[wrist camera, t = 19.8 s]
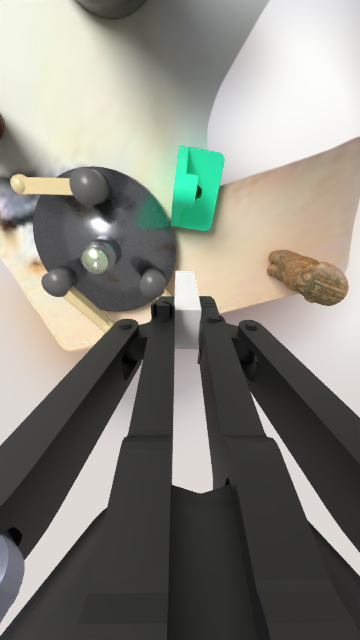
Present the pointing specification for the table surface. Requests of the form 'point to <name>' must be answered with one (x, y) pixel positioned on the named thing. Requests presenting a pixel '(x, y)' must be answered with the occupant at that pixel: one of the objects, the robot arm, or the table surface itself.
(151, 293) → the knob
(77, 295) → the knob
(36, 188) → the maraca
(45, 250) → the level base
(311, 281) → the figurine
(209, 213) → the camera mount
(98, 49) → the table surface
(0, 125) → the coffee cup
